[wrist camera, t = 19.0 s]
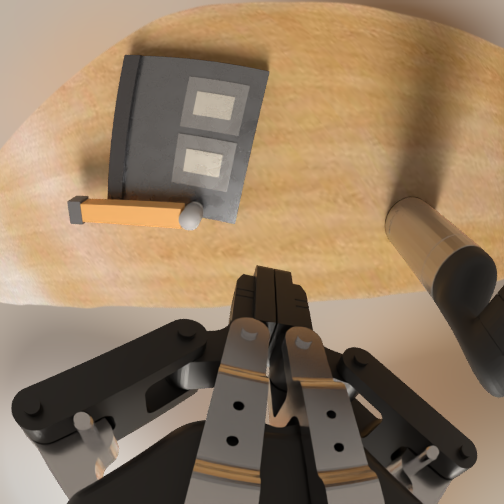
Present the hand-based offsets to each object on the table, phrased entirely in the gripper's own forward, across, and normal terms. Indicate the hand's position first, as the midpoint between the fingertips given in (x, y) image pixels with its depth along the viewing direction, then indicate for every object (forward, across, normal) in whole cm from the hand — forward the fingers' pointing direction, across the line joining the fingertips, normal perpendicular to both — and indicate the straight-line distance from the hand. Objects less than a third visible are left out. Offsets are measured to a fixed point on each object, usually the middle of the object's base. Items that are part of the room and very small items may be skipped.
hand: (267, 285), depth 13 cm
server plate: (+32, +12, -1) cm, 34 cm away
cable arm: (+28, +17, +10) cm, 34 cm away
